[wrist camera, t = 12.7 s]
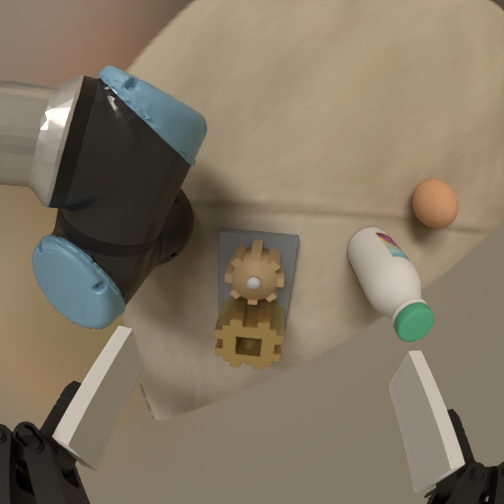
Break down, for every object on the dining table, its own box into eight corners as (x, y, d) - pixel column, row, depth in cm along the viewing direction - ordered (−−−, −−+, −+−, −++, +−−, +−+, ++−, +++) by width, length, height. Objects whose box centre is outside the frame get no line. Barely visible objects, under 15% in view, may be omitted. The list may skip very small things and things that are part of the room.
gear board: (220, 326, 52) (213, 353, 46) (220, 228, 43) (210, 247, 37) (283, 333, 52) (283, 360, 45) (298, 235, 43) (301, 256, 36)
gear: (222, 335, 51) (215, 364, 44) (223, 289, 46) (214, 317, 40) (278, 340, 50) (277, 370, 44) (285, 295, 46) (286, 324, 39)
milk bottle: (353, 275, 45) (388, 362, 27) (340, 236, 42) (379, 316, 24) (394, 258, 43) (446, 336, 25) (383, 218, 40) (445, 285, 22)
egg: (417, 165, 36) (445, 176, 28) (447, 189, 37) (475, 204, 29) (396, 204, 39) (420, 223, 31) (426, 225, 40) (452, 246, 32)
